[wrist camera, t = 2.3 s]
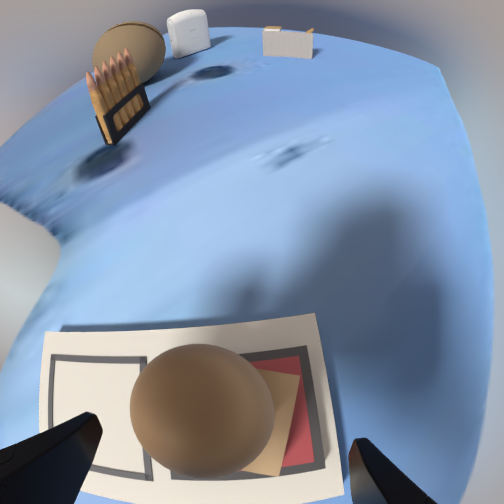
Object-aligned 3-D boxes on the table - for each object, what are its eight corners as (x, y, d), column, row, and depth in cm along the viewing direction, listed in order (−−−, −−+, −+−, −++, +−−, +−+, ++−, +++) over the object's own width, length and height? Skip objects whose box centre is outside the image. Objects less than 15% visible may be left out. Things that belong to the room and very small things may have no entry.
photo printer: (178, 59, 56) (170, 15, 46) (170, 57, 58) (162, 16, 47) (213, 48, 59) (208, 6, 49) (204, 46, 61) (198, 6, 51)
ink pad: (304, 349, 18) (306, 344, 17) (322, 465, 14) (325, 468, 12) (169, 363, 18) (163, 358, 17) (177, 476, 13) (170, 479, 12)
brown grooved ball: (184, 75, 48) (172, 9, 36) (117, 107, 43) (94, 37, 31) (152, 67, 55) (140, 13, 42) (96, 94, 50) (77, 38, 37)
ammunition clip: (114, 145, 36) (87, 73, 26) (105, 145, 36) (78, 76, 26) (150, 107, 41) (133, 44, 31) (141, 108, 41) (124, 46, 31)
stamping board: (312, 320, 21) (315, 312, 19) (339, 489, 13) (344, 494, 12) (55, 337, 20) (44, 331, 19) (54, 477, 13) (42, 477, 12)
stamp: (295, 382, 16) (342, 305, 6) (277, 468, 13) (293, 553, 3) (205, 364, 17) (114, 265, 7) (184, 447, 14) (49, 465, 4)
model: (266, 53, 55) (264, 24, 48) (312, 57, 53) (313, 27, 47) (263, 57, 53) (262, 27, 47) (312, 60, 51) (313, 30, 45)
